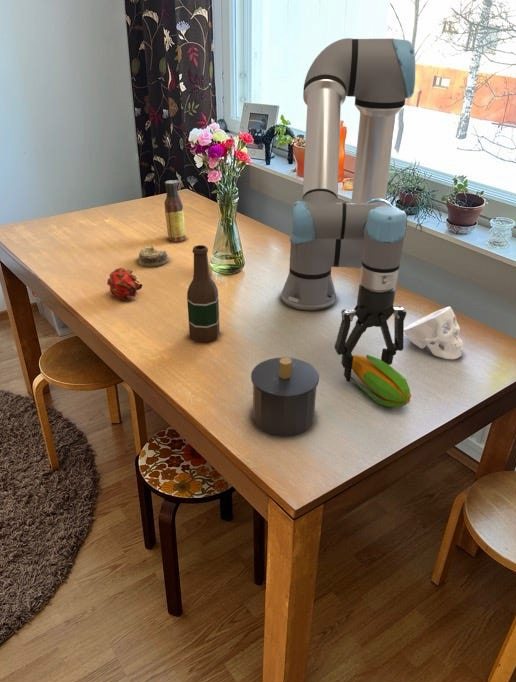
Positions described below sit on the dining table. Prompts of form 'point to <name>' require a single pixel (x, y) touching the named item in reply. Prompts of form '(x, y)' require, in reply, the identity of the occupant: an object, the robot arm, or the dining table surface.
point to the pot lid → (285, 377)
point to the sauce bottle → (174, 213)
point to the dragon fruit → (123, 283)
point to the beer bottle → (202, 300)
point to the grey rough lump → (152, 257)
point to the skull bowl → (437, 333)
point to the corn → (381, 381)
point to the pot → (283, 413)
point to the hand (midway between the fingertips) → (364, 376)
